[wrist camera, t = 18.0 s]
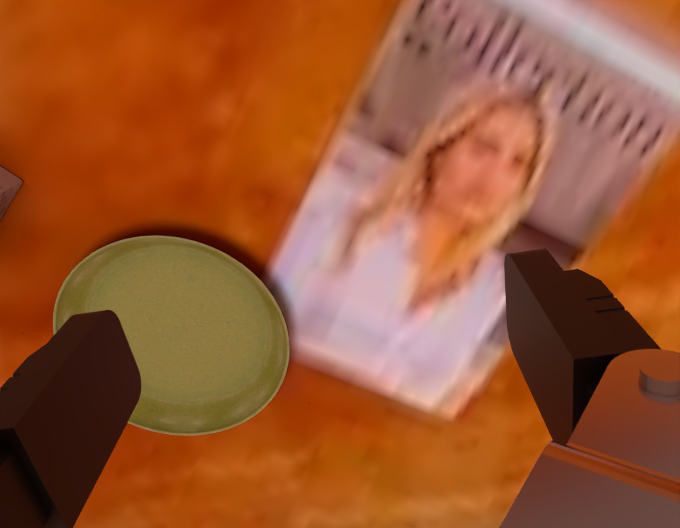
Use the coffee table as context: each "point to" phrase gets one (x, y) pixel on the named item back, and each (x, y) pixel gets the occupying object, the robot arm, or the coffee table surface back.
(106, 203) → the coffee table surface
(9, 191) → the coffee box
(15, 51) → the coffee table surface
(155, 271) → the saucer
